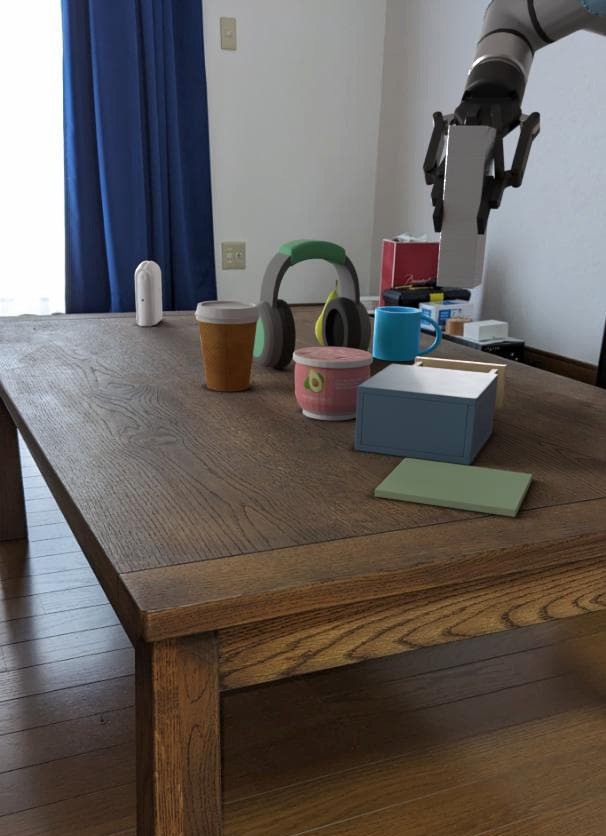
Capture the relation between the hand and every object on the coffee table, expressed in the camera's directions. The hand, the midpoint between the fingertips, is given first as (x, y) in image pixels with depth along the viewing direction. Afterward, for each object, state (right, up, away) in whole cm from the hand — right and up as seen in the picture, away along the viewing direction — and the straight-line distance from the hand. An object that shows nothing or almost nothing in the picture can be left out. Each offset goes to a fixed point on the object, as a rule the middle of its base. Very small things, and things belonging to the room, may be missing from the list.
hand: (458, 225), depth 106 cm
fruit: (-13, -2, +60) cm, 61 cm away
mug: (0, -5, +53) cm, 54 cm away
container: (-15, -20, +15) cm, 29 cm away
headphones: (-18, -8, +45) cm, 48 cm away
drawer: (+1, -20, +15) cm, 25 cm away
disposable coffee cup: (-30, -15, +28) cm, 43 cm away
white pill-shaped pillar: (-50, +8, +81) cm, 96 cm away
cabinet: (-3, -25, +3) cm, 26 cm away
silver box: (+1, -5, +6) cm, 8 cm away
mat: (-3, -32, -13) cm, 35 cm away
